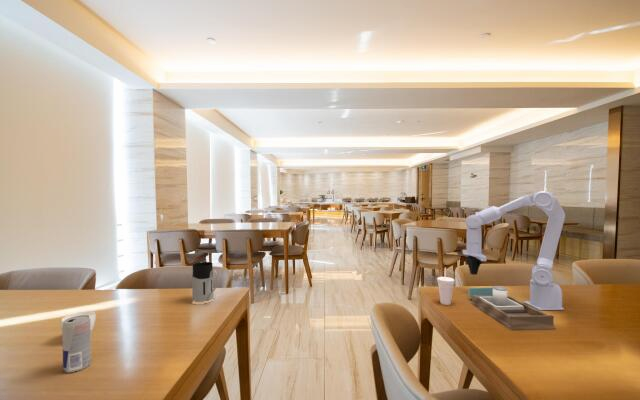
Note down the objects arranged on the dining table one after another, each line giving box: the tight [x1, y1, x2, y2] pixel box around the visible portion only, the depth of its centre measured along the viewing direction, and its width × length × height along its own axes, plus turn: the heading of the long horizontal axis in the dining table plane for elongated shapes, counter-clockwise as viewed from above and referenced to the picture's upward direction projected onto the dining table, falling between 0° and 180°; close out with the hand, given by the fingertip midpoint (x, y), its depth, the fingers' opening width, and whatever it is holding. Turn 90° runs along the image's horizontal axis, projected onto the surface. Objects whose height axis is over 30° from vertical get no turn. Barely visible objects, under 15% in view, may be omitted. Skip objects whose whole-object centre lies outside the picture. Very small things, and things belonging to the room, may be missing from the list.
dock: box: [470, 294, 556, 331], centre depth 102 cm, size 22×15×4 cm, turn 2°
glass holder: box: [191, 261, 219, 302], centre depth 115 cm, size 9×14×15 cm, turn 54°
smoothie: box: [436, 267, 455, 306], centre depth 113 cm, size 6×6×14 cm
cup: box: [60, 310, 97, 332], centre depth 87 cm, size 8×10×7 cm
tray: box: [468, 286, 526, 313], centre depth 110 cm, size 17×11×4 cm, turn 2°
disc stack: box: [492, 285, 508, 306], centre depth 107 cm, size 5×5×6 cm
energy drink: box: [61, 315, 92, 374], centre depth 72 cm, size 5×5×12 cm
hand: (473, 274), depth 124 cm, fingers closed
